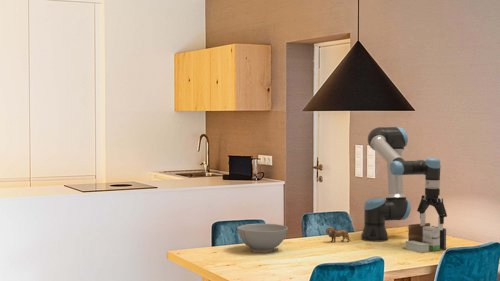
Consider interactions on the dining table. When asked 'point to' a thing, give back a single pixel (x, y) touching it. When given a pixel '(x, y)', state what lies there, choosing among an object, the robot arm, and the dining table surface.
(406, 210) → the robot arm
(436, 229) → the ink box
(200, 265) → the dining table surface
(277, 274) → the dining table surface
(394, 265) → the dining table surface
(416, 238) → the shelf
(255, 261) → the dining table surface
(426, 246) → the flat grey box
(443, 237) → the bookend
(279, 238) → the decorative bowl
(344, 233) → the lion figurine
